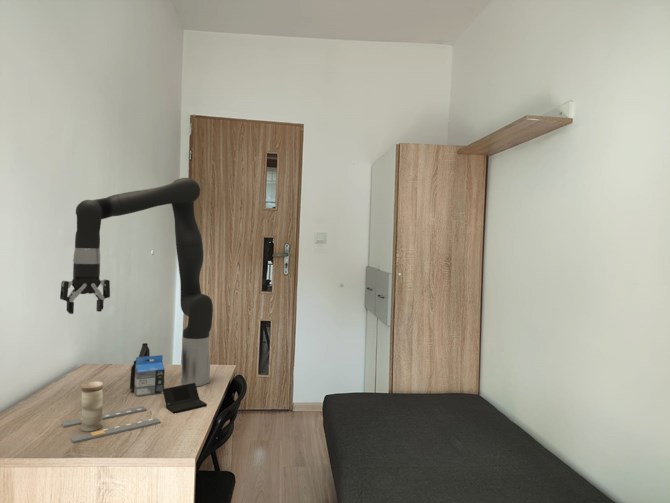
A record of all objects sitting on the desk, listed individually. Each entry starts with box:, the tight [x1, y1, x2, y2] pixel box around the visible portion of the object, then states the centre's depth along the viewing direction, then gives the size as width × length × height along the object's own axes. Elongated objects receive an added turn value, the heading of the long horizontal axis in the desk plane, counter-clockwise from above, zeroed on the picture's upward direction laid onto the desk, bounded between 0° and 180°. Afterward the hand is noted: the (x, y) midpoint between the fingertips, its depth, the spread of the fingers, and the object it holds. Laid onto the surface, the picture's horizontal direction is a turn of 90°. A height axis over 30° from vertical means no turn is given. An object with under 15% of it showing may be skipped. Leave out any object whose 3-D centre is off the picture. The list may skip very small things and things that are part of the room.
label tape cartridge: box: [133, 354, 166, 397], centre depth 153 cm, size 9×4×12 cm, turn 123°
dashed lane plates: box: [61, 405, 162, 444], centre depth 126 cm, size 22×15×1 cm
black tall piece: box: [129, 342, 151, 390], centre depth 167 cm, size 17×3×30 cm
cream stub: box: [81, 380, 104, 432], centre depth 123 cm, size 5×5×12 cm
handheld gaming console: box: [162, 383, 208, 415], centre depth 143 cm, size 12×7×10 cm
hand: (85, 312), depth 144 cm, fingers open, 8 cm apart
